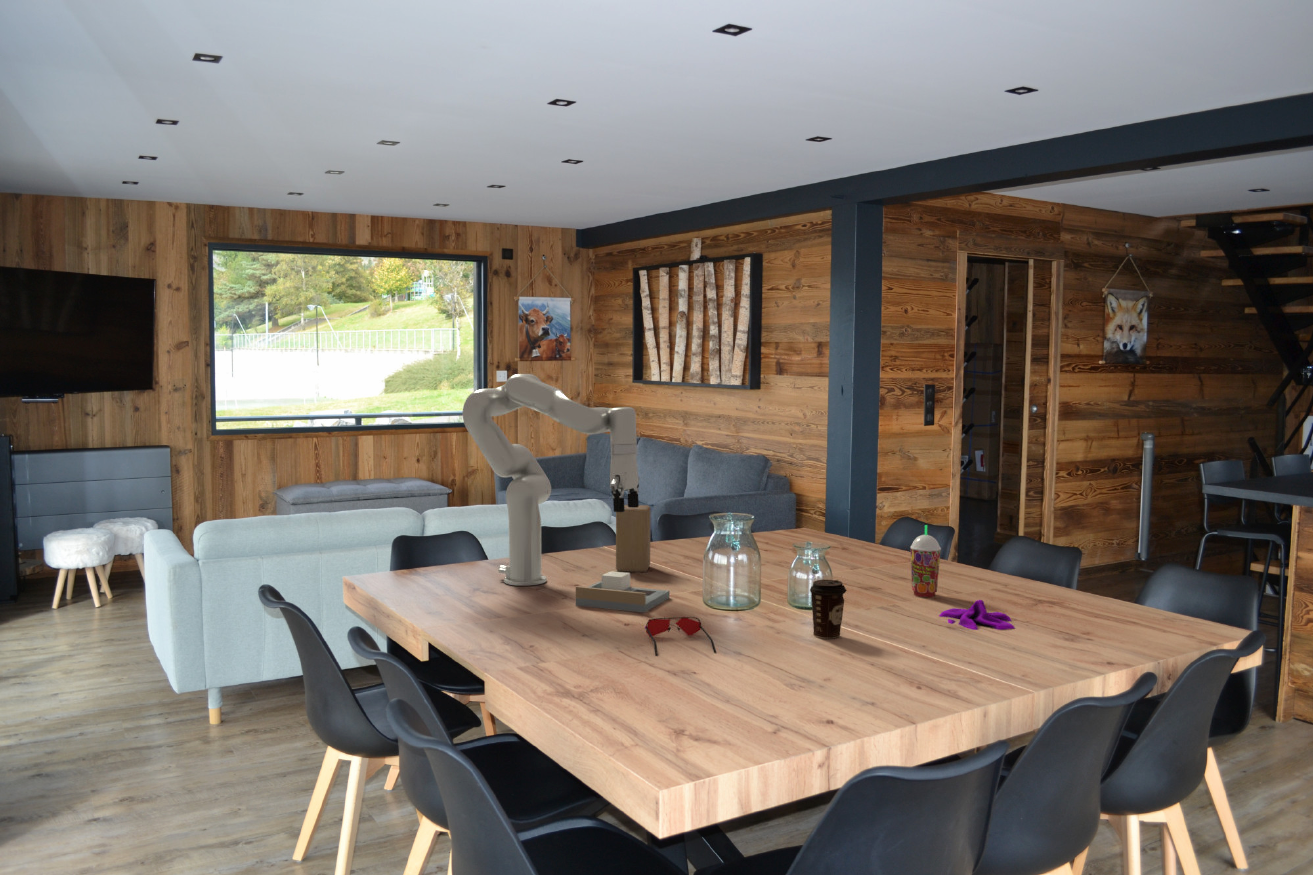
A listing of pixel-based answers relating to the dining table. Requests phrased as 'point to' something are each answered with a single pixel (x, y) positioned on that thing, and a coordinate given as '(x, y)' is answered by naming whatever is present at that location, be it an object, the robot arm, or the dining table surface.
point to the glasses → (662, 625)
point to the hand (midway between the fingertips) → (626, 509)
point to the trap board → (620, 598)
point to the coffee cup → (827, 608)
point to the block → (633, 539)
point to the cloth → (978, 617)
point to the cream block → (616, 580)
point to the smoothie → (925, 565)
